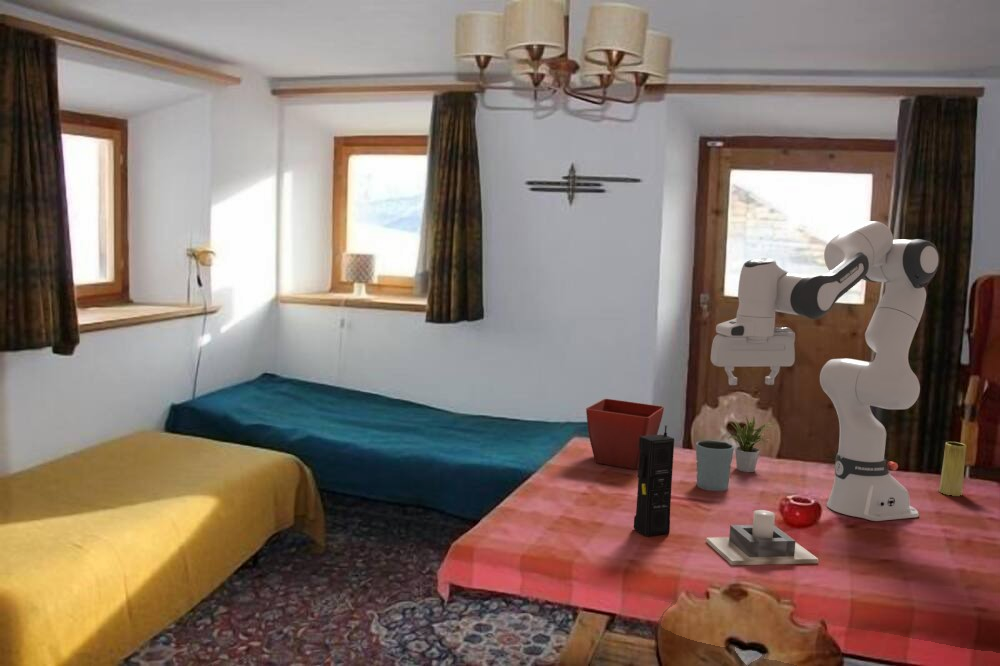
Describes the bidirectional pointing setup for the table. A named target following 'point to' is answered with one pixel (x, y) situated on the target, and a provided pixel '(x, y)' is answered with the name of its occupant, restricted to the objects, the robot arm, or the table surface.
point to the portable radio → (654, 484)
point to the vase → (953, 469)
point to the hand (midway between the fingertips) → (751, 384)
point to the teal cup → (713, 464)
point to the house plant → (747, 446)
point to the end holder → (759, 548)
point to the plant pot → (621, 430)
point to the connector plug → (763, 524)
